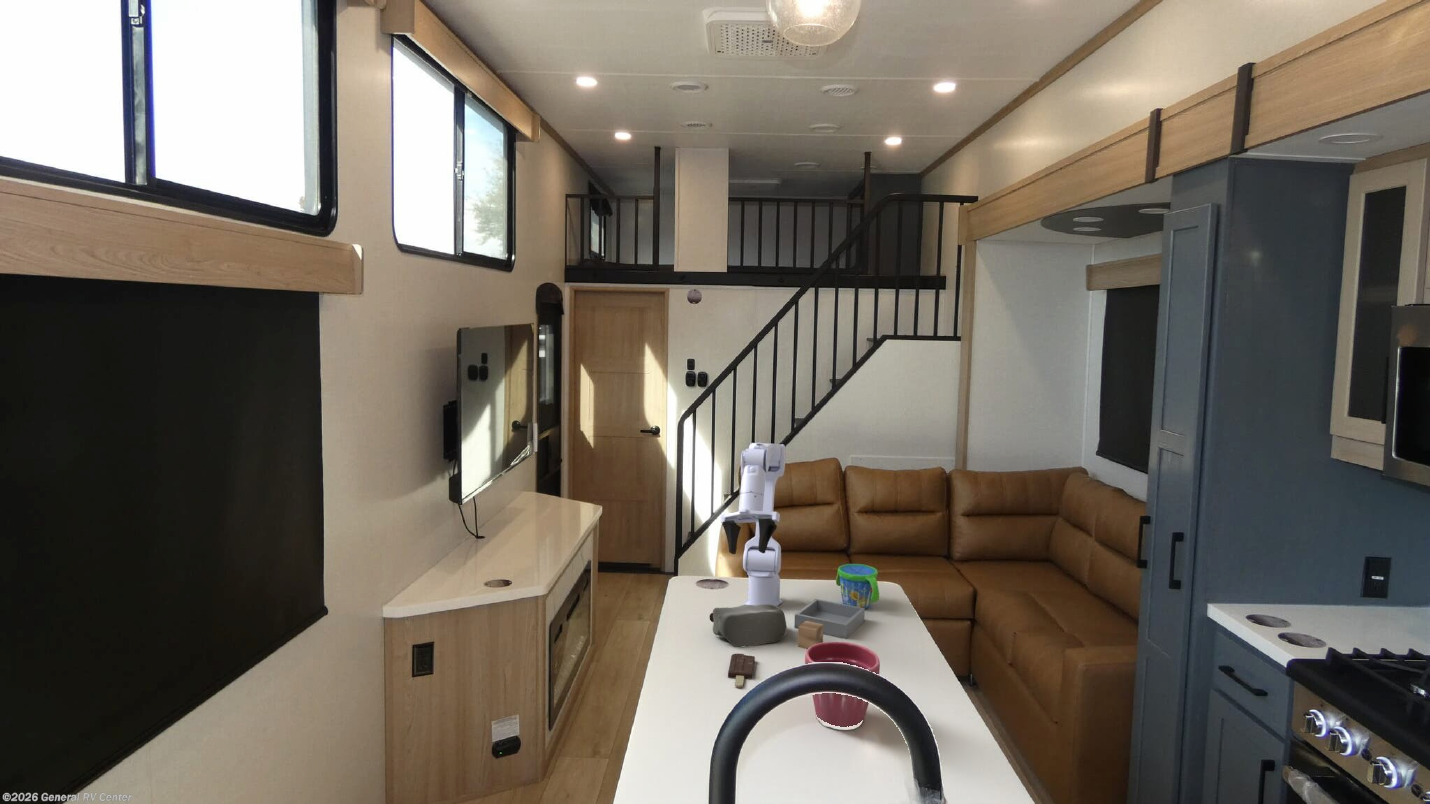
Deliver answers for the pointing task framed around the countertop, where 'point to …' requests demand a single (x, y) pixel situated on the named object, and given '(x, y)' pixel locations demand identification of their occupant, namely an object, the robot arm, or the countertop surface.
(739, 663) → the ice cream bar
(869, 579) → the snack cup
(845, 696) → the plant pot
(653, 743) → the countertop surface
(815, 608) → the bin
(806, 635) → the walnut block
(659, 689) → the countertop surface
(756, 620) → the grey rounded lump
